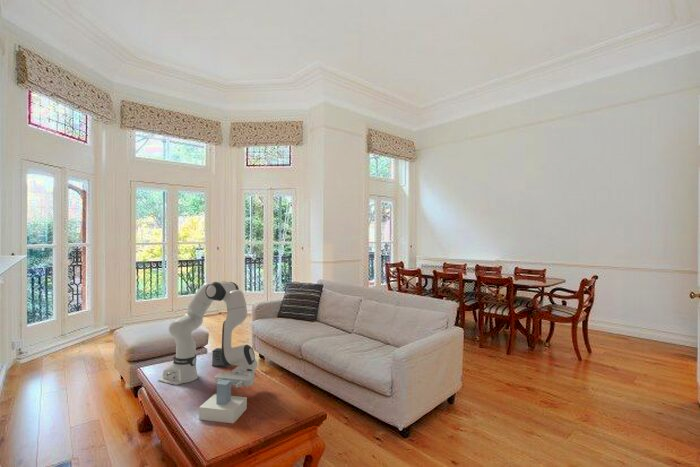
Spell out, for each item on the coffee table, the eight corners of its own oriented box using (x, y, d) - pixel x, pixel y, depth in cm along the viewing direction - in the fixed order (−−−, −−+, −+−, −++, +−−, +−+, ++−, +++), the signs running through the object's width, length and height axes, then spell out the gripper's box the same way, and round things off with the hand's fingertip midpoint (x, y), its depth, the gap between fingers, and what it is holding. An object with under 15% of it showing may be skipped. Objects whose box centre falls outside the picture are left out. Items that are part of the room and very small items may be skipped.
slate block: (216, 404, 174) (216, 383, 174) (221, 399, 179) (221, 379, 179) (225, 405, 173) (226, 384, 173) (230, 400, 178) (231, 380, 178)
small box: (231, 363, 242) (231, 348, 242) (226, 367, 236) (227, 351, 236) (216, 362, 243) (216, 347, 243) (211, 366, 237) (212, 350, 237)
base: (198, 419, 171) (199, 407, 171) (214, 405, 184) (214, 394, 184) (233, 423, 168) (233, 410, 168) (246, 408, 182) (246, 397, 182)
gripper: (222, 367, 194) (208, 377, 181) (256, 370, 191) (245, 381, 177) (221, 378, 194) (207, 389, 181) (256, 382, 191) (245, 393, 177)
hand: (226, 385), depth 179 cm, fingers open, 8 cm apart
